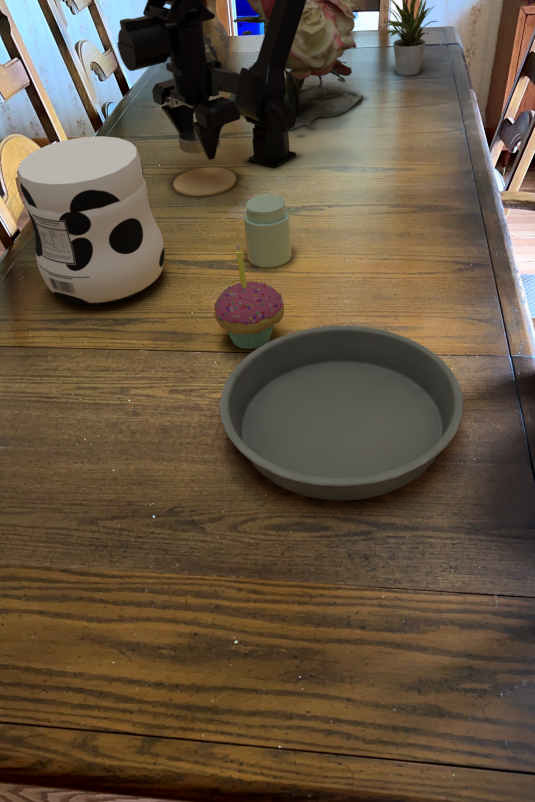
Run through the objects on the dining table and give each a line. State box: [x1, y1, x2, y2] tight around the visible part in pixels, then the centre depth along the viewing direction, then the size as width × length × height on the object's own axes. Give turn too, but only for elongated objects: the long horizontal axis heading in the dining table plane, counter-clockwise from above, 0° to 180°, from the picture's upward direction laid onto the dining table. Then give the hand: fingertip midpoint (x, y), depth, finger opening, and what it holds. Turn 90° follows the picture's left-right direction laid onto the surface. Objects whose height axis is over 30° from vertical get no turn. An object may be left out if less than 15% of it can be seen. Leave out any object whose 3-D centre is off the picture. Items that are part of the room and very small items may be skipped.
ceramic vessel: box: [201, 0, 231, 69], centre depth 162 cm, size 16×9×25 cm, turn 174°
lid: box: [178, 127, 221, 155], centre depth 120 cm, size 7×7×2 cm
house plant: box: [377, 0, 439, 76], centre depth 159 cm, size 14×14×16 cm
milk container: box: [17, 135, 166, 306], centre depth 96 cm, size 17×17×18 cm
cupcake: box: [213, 244, 285, 350], centre depth 85 cm, size 9×8×12 cm
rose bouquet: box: [206, 0, 364, 130], centre depth 142 cm, size 26×29×30 cm
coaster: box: [172, 167, 237, 197], centre depth 125 cm, size 11×11×1 cm
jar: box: [243, 194, 293, 268], centre depth 101 cm, size 6×6×8 cm
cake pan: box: [219, 325, 464, 501], centre depth 74 cm, size 25×25×4 cm
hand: (201, 153), depth 122 cm, fingers closed on lid, 6 cm apart
